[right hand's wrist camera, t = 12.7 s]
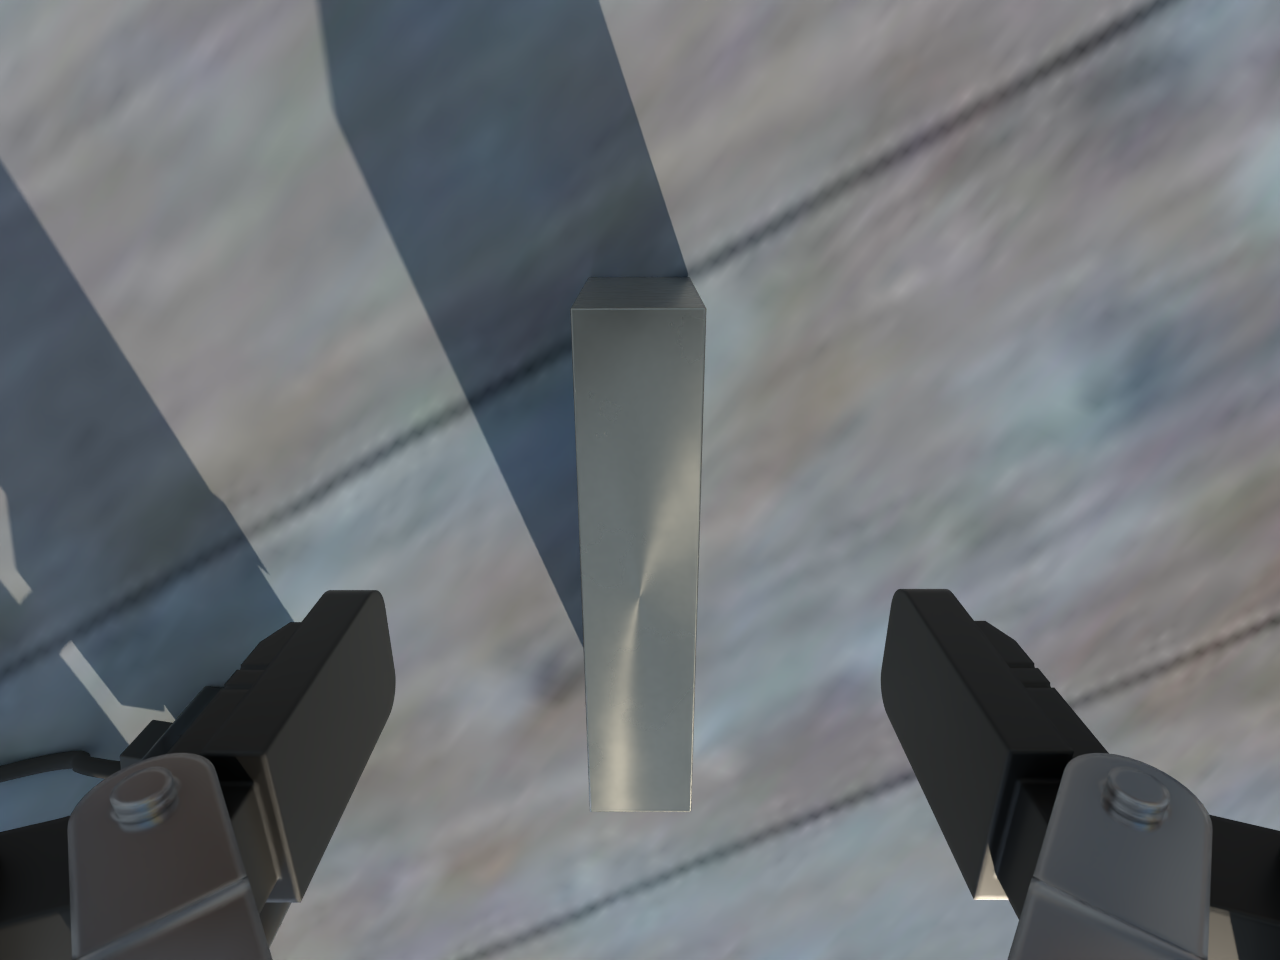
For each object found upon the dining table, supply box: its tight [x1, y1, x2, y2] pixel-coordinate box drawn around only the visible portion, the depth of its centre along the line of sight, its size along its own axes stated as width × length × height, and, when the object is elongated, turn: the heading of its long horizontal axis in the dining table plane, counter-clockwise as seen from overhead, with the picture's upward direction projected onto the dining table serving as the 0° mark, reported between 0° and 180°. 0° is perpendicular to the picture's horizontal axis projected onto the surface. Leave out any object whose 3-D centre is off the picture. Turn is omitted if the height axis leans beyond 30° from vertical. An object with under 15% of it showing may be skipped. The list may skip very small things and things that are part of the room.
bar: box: [571, 277, 706, 812], centre depth 33 cm, size 23×5×9 cm, turn 0°
